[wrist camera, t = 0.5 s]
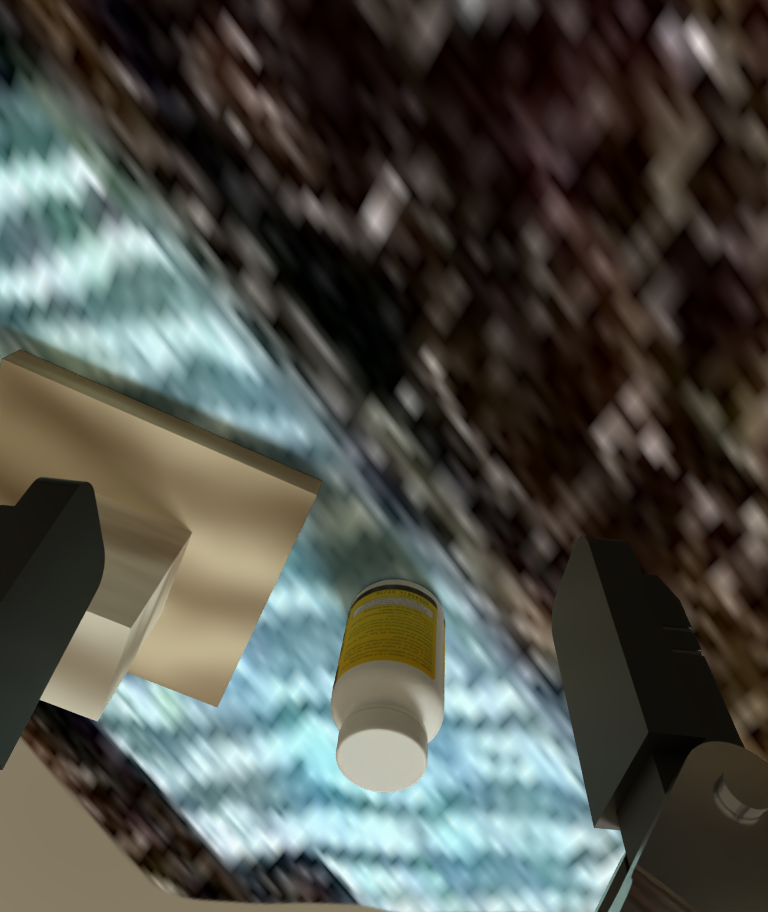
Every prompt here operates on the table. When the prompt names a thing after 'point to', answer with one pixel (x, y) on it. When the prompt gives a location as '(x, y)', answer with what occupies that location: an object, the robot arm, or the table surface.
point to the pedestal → (152, 532)
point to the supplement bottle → (389, 685)
